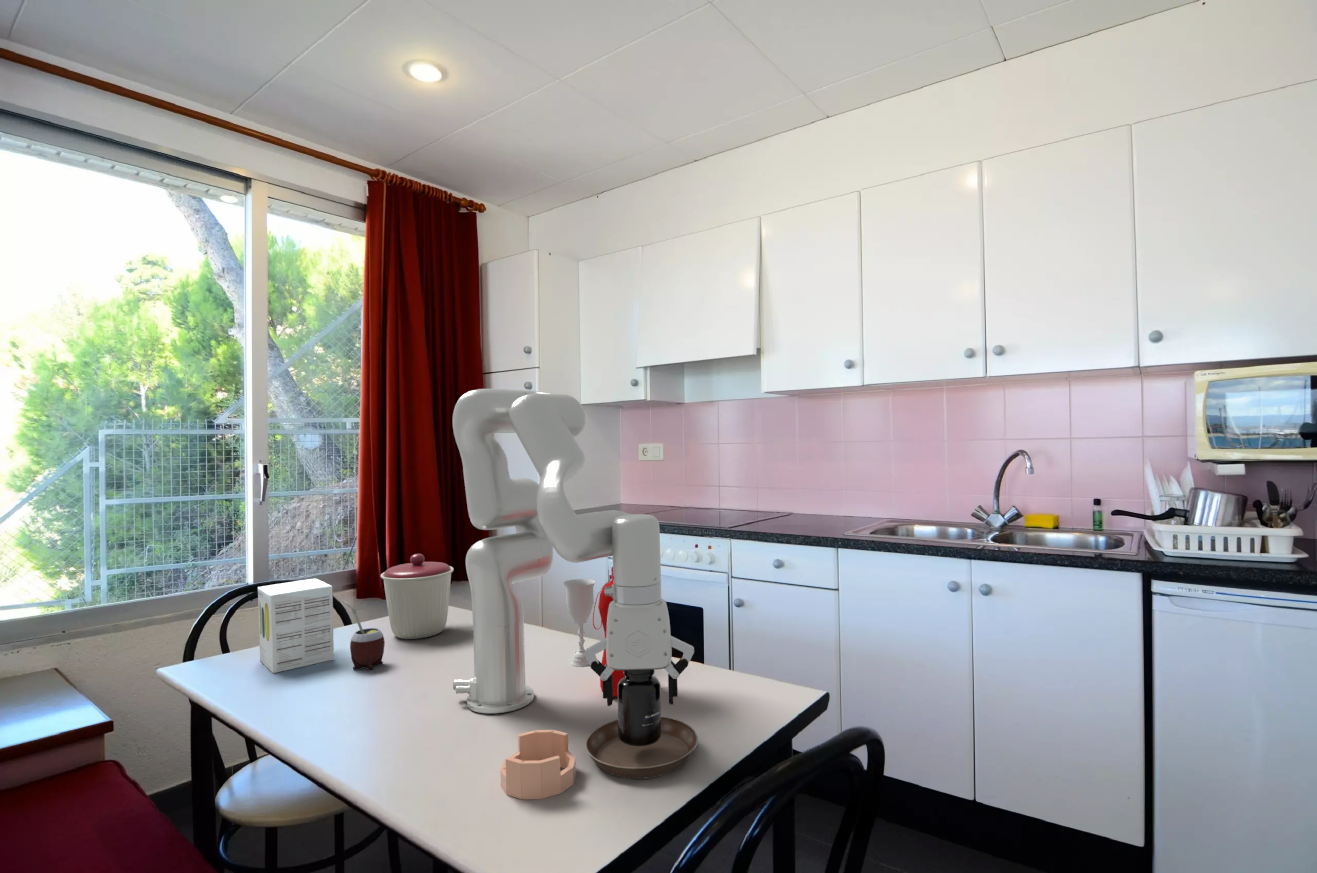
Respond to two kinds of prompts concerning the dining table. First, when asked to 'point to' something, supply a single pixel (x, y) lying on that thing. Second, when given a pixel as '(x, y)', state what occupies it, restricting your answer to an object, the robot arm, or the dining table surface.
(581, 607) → the chalice
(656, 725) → the supplement bottle
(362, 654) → the mate gourd
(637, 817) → the dining table surface
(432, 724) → the dining table surface
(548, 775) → the holder cup
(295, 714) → the dining table surface
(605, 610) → the water bottle
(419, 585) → the canister
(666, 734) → the plant saucer
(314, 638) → the supplement box
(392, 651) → the dining table surface
